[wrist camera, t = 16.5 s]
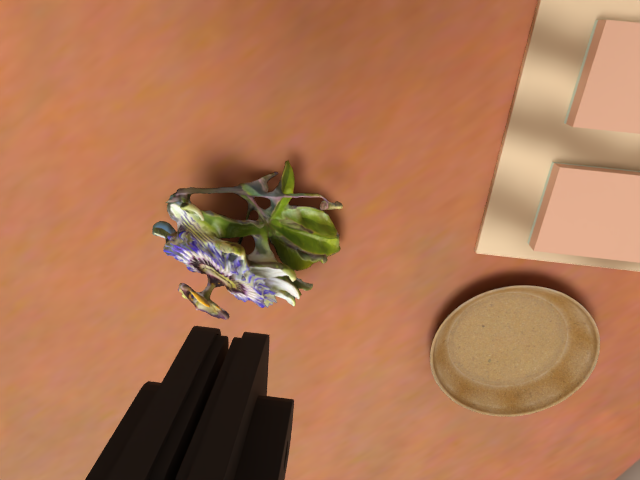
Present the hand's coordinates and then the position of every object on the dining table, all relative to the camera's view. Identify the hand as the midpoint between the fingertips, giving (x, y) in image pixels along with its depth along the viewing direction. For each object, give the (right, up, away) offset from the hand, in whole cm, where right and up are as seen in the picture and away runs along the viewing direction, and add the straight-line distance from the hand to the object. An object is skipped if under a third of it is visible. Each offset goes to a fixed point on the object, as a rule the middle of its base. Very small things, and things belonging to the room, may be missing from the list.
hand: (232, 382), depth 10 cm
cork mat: (+23, +11, +25) cm, 36 cm away
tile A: (+21, +15, +22) cm, 34 cm away
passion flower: (-3, +5, +30) cm, 31 cm away
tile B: (+20, +6, +26) cm, 33 cm away
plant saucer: (+20, -6, +34) cm, 40 cm away
